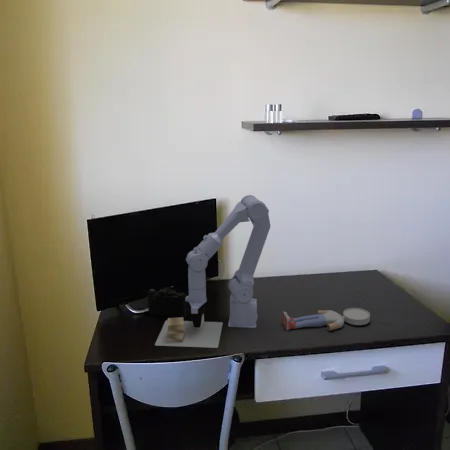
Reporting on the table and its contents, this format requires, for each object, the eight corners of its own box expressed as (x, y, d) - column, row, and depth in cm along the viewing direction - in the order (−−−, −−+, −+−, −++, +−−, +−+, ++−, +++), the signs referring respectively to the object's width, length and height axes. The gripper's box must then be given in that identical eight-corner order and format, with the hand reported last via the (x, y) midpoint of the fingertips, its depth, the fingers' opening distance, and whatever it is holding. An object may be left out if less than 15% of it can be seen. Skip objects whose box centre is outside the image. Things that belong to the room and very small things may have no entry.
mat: (222, 323, 168) (222, 322, 168) (217, 348, 151) (217, 347, 151) (165, 321, 170) (165, 320, 169) (154, 346, 153) (154, 345, 153)
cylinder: (204, 324, 166) (204, 312, 165) (203, 330, 162) (203, 317, 161) (193, 324, 167) (192, 312, 165) (191, 329, 163) (191, 317, 162)
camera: (193, 307, 180) (192, 282, 177) (183, 320, 170) (182, 294, 167) (158, 303, 184) (157, 279, 181) (146, 316, 174) (145, 290, 171)
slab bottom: (185, 334, 160) (184, 326, 159) (182, 342, 155) (182, 333, 154) (170, 334, 160) (169, 325, 159) (167, 341, 155) (166, 333, 154)
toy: (290, 322, 157) (377, 313, 162) (279, 305, 169) (361, 297, 174) (289, 338, 159) (376, 328, 163) (279, 320, 171) (360, 312, 175)
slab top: (183, 325, 159) (183, 317, 158) (184, 332, 154) (183, 324, 154) (168, 326, 159) (167, 318, 158) (168, 334, 154) (167, 325, 153)
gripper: (188, 277, 168) (189, 313, 171) (181, 295, 154) (182, 333, 158) (209, 278, 167) (209, 314, 171) (203, 295, 153) (204, 334, 157)
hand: (198, 323), depth 164 cm, fingers closed on cylinder, 4 cm apart
